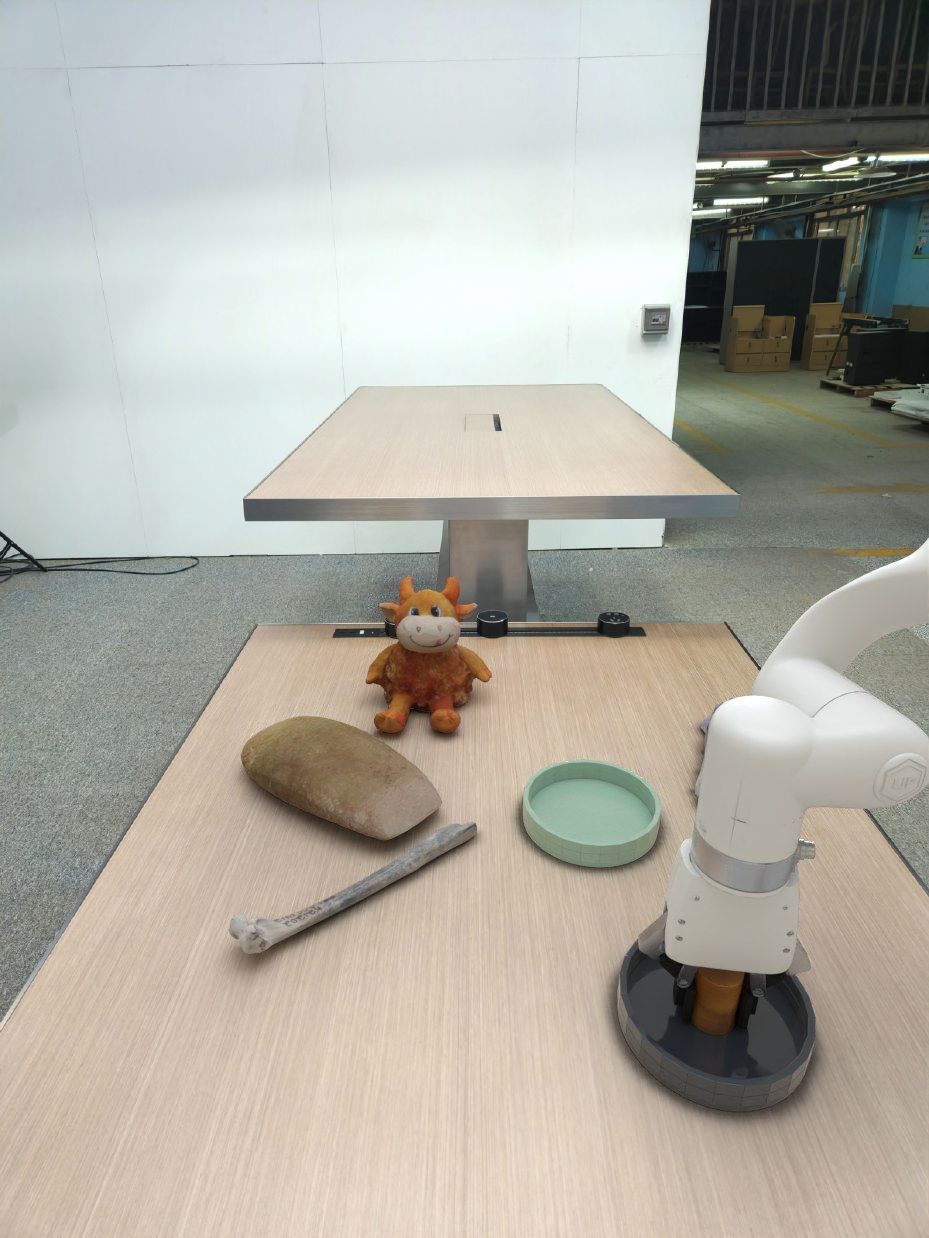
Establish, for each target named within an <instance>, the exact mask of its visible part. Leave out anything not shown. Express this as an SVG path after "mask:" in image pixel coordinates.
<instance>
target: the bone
mask: <svg viewBox="0 0 929 1238" xmlns="http://www.w3.org/2000/svg"><path fill="white" fill-rule="evenodd" d="M477 832H478V825H477V823H476V822H475V821H474V822H473V821H471V822H469V821H468V822H466V823H463V824H460V823H450V824H448V825H447V826H444V827H441V828H439V829H438V830H437V831H436V832H434V833H433V834H432V835H429V837H427V838H426V839H424V840H423V841H421V842H420V843H418V844H417V845H415V846H413V847H412V848H411V849H410V850H408V851H406V852H405V853H403V854H402V855H401V856H399V857H397V858H396V859H395V860H393V861H390V862H389V863H388V864H386V865H385V866H382V867H381V868H380V869H378V870H376V871H374V872H373V873H371V874H370V875H368V876H366V877H365V878H362V879H361V880H359V881H357V882H356V883H353V884H351V885H350V886H348V887H346V888H344V889H342V890H341V891H339V892H338V891H337V893H335V894H333V895H330V896H329V897H327V898H325V899H323V900H321V901H318V902H316V903H315V904H313V905H310V906H308V907H306V908H303V909H301V910H298V911H296V912H293V913H290V914H288V915H285V916H281V917H277V918H266V917H261V916H258V917H254V918H250V919H247V917H246V916H244V915H243V914H242V915H241V914H235V915H233V916H232V918H231V920H230V923H229V927H228V933H229V935H230V936H231V937H232V938H234V940H238V941H239V945H240V948H241V950H242V952H243V953H244V954H246V955H249V954H250V955H253V954H259V953H263V952H265V951H266V950H268V949H269V948H271V946H273V945H275V944H278V943H280V942H282V941H284V940H286V939H289V938H290V937H293V936H294V935H296V934H298V933H299V932H302V931H303V930H305V929H308V928H310V927H312V926H314V925H315V924H318V923H320V922H321V921H324V920H326V919H328V918H329V917H330V918H331V916H333V915H335V914H338V913H339V912H341V911H343V910H346V909H347V908H349V907H351V906H352V905H355V904H356V903H359V902H360V901H362V900H365V899H366V898H368V897H369V896H371V895H373V894H375V893H377V892H379V891H381V890H382V889H384V888H385V887H387V886H389V885H391V884H392V883H394V882H396V881H398V880H400V879H402V878H404V877H405V876H408V875H409V874H411V873H414V872H415V871H417V870H419V869H420V868H421V867H422V866H424V865H426V864H428V863H429V862H431V861H432V860H435V859H436V858H437V857H439V856H441V855H443V854H445V853H447V852H448V851H451V850H452V849H454V848H456V847H458V846H461V845H462V844H464V843H466V842H467V841H469V840H470V839H472V838H473V837H474V836H475V835H476V834H477Z"/></svg>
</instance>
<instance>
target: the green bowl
mask: <svg viewBox="0 0 929 1238" xmlns="http://www.w3.org/2000/svg"><path fill="white" fill-rule="evenodd" d="M523 789H524V790H523V797H522V820H523V821H522V822H523V826H524V828H525V829H524V830H525V831H526V833H527V835H528V836H529V838H530V839H531V840H532V841H533V843H534V844H535V845H537V846H538V847H539V849H541V850H543V851H544V852H545V853H547V854H548V855H550V856H552V857H554V858H556V859H558V860H560V861H562V862H564V863H565V862H566V863H569V864H572V865H576V866H581V867H586V868H587V867H588V868H614V867H619V866H624V865H627V864H629V863H633V862H635V861H636V860H639V859H641V858H642V857H643V856H644V855H646V854H647V853H648V852H649V851H650V850H651V849H652V848H653V846H654V844H655V843H656V841H657V838H658V833H659V829H660V824H661V815H662V807H661V800H660V798H659V795H658V794H657V793H656V791H655V789H654V787H653V786H651V785H650V783H648V781H647V780H645V778H644V777H641V776H640V775H638V774H637V773H635V772H634V771H632V770H631V769H628V768H625V767H623V766H620V765H619V764H615V763H611V762H607V761H602V760H597V759H596V760H594V759H582V758H581V759H569V760H563V761H559V762H554V763H552V764H549V765H547V766H546V767H545V766H544V767H543V768H540V769H539V770H538V771H537V772H536V773H534V774H533V775H532V776H531V777H530V778H529V779H528V781H527V782H526V784H525V786H524V788H523Z"/></svg>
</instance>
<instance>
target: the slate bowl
mask: <svg viewBox="0 0 929 1238" xmlns="http://www.w3.org/2000/svg"><path fill="white" fill-rule="evenodd" d="M663 943H664V942H663ZM674 979H675V978H674V977H673V976H672V975H671V974H670V973H669V972H667V971H666V970H665V969H664V968H663V967H662V966H661V965H660V963H659V961H658V960H656V959H655V960H654V959H652V958H651V957H649V956H648V955H646V954H644V953H643V952H641V951H640V950H639V943H638V938H637V939H636V940H635V941H634V942H633V944H632V945H631V946H630V948H629V949H628V950H627V952H626V953H625V954H624V956H623V960H622V963H621V967H620V971H619V976H618V985H617V992H616V993H617V994H616V995H617V996H616V997H617V1000H616V1001H617V1002H616V1003H617V1006H616V1009H617V1017H618V1022H619V1026H620V1029H621V1031H622V1035H623V1036H624V1039H625V1041H626V1043H627V1045H628V1047H629V1048H630V1050H631V1052H632V1053H633V1055H634V1056H635V1058H636V1059H637V1060H638V1062H639V1063H640V1064H641V1065H642V1066H643V1067H644V1068H645V1070H646V1071H647V1072H648V1073H649V1074H650V1075H651V1076H652V1077H654V1079H656V1080H657V1081H658V1082H660V1083H661V1084H662V1085H663V1086H665V1087H666V1088H667V1089H670V1091H672V1092H673V1093H675V1094H677V1095H679V1096H681V1097H682V1098H684V1099H687V1100H688V1101H691V1102H693V1103H696V1104H697V1105H700V1106H704V1107H707V1108H711V1109H716V1110H720V1111H726V1112H738V1113H739V1112H740V1113H741V1112H754V1111H759V1110H763V1109H766V1108H770V1107H772V1106H775V1105H777V1104H778V1103H780V1102H782V1101H784V1100H786V1099H787V1098H788V1097H789V1096H790V1095H791V1094H793V1093H794V1091H796V1089H797V1088H798V1086H800V1085H801V1082H802V1081H803V1079H804V1077H805V1074H806V1071H807V1068H808V1066H809V1063H810V1060H811V1057H812V1053H813V1051H814V1046H815V1043H816V1037H817V1036H816V1031H817V1030H816V1029H817V1028H816V1027H817V1025H816V1022H817V1021H816V1020H817V1019H816V1018H817V1017H816V1014H815V1010H814V1008H813V1005H812V1004H813V1003H812V1001H811V998H810V995H809V993H808V992H807V990H806V989H805V987H804V985H803V983H802V982H801V980H800V979H799V977H798V976H797V974H795V975H792V976H790V975H787V977H786V979H784V980H783V981H781V982H779V983H777V984H774V985H772V986H770V987H768V988H766V994H765V995H764V996H762V997H759V999H758V1003H757V1008H756V1012H755V1015H752V1014H750V1016H749V1021H748V1026H747V1029H740V1027H737V1022H736V1018H735V1023H734V1026H733V1028H732V1030H731V1031H730V1032H728V1033H727V1034H724V1035H718V1036H716V1035H710V1034H707V1033H705V1032H703V1031H701V1030H700V1029H698V1028H697V1027H696V1026H695V1025H694V1024H693V1023H692V1021H689V1022H683V1021H682V1015H681V1007H680V1005H674V1001H673V986H674Z"/></svg>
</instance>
